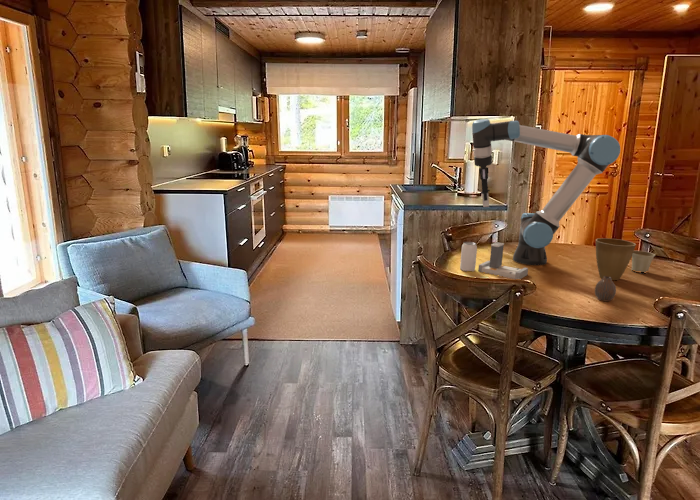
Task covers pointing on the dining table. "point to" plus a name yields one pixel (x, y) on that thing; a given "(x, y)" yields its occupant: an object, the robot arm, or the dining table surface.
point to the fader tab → (496, 255)
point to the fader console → (503, 271)
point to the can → (468, 256)
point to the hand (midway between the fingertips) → (486, 206)
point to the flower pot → (641, 260)
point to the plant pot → (613, 256)
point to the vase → (605, 289)
